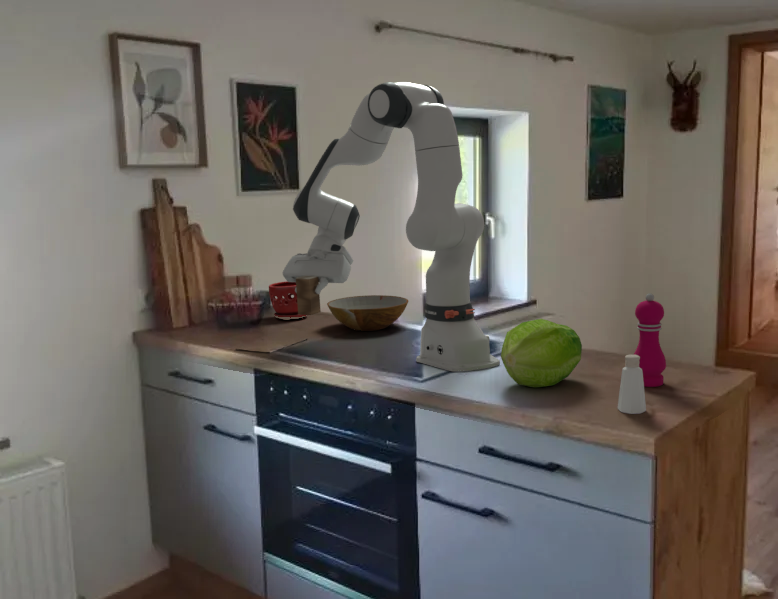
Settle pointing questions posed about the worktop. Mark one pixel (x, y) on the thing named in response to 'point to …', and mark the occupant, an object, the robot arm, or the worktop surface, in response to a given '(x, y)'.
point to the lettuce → (540, 353)
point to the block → (307, 295)
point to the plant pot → (284, 299)
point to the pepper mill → (650, 341)
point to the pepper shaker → (632, 387)
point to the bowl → (368, 311)
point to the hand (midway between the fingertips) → (306, 292)
